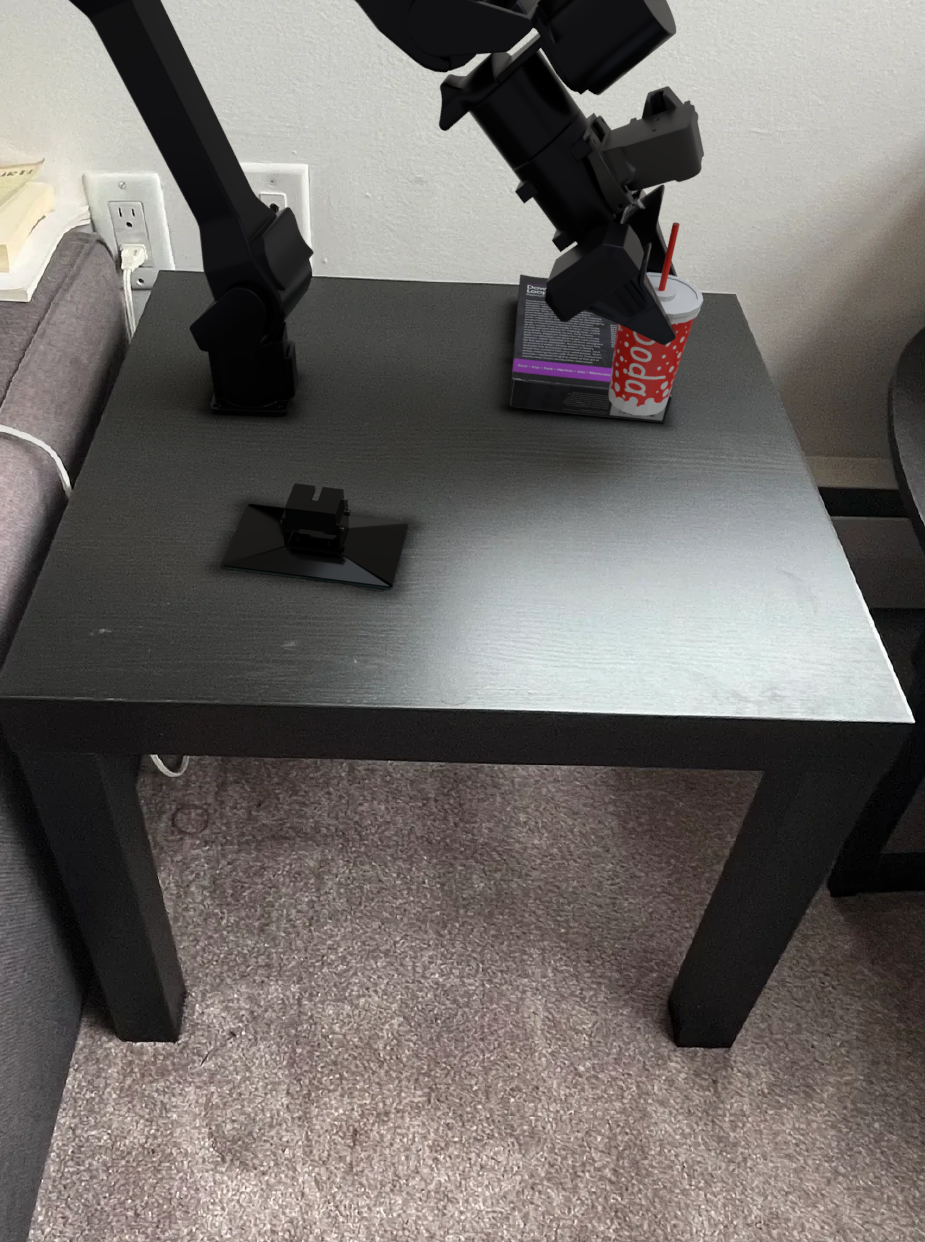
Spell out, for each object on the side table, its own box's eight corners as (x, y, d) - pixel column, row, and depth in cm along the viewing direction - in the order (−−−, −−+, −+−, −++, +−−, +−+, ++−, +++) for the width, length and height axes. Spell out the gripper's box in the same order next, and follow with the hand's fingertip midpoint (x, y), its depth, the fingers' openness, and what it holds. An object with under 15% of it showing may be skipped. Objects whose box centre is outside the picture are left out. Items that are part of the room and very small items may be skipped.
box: (664, 429, 86) (653, 315, 99) (673, 395, 83) (661, 282, 97) (506, 412, 86) (516, 300, 99) (510, 378, 84) (520, 268, 97)
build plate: (408, 527, 75) (410, 479, 71) (391, 593, 69) (392, 545, 66) (248, 506, 75) (242, 457, 72) (220, 570, 70) (212, 521, 67)
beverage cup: (584, 401, 76) (615, 224, 66) (622, 369, 80) (657, 197, 70) (653, 431, 74) (696, 253, 64) (689, 397, 78) (735, 223, 68)
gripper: (629, 107, 54) (773, 324, 61) (661, 16, 67) (777, 204, 73) (479, 224, 61) (624, 408, 67) (535, 121, 73) (651, 284, 80)
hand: (674, 319), depth 72 cm, fingers closed on beverage cup, 6 cm apart
